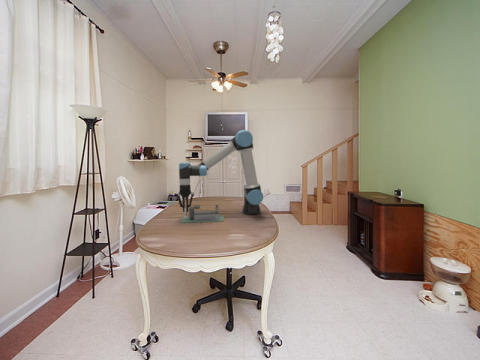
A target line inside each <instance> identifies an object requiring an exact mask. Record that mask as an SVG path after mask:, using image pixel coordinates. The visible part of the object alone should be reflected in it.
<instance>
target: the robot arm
mask: <svg viewBox="0 0 480 360" xmlns="http://www.w3.org/2000/svg"><path fill="white" fill-rule="evenodd" d="M253 141H254V136H253V135H252V132H251V131H249V130H246V129H242V130H238V132H237V133H236V134H235V135H234V137H232V139H230V140H229V142H228V143H227V144H225V145H223V147H221V148H220V149H219V150H217V151H215V152H214V153H213V154H212V155H210V156H209V157H207V158H206V159H205V160H203V161H202V162H200V163H199V164H197V165H191V164H190V162H180V163H179V164H178V175H179V176H178V179H179V181H178V182H179V190H178V191H179V192H178V193H176V194H175V196H176V198H177V200H178V204H179V208H182V212H183V213H184V217H188V212H189V208H190V207H192V204H193V203H192V202H193V199H194V197H195V193H193V192H192V190H191V177H206V176H207V175H208V171H209V170H211V168H213V167H214V166H215V165H217V164H218V163H219V162H221V161H223V160H224V159H225V158H226V157H228V156H229V155H231V154H232V153H234V152H236V151H237V152H239V154H240V158H241V159H240V160H241V164H242V165H241V166H242V171H243V175H244V179H245V180H244V181H245V185H244V186H243V192H244V193H243V197H244V199H243V200H244V202H243V206H242V211H241V212H242V214H244V215H247V216H255V215H260V214H261V213H262V211H261V206H260V204H262V201H263V200H264V193H263V192H262V187H261V184H260V183H259V182H258V177H257V172H256V167H255V162H254V161H255V160H254V156H253V149H254V144H253V143H254V142H253ZM189 196H190V198H189ZM181 197H182V199H181Z"/></svg>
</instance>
